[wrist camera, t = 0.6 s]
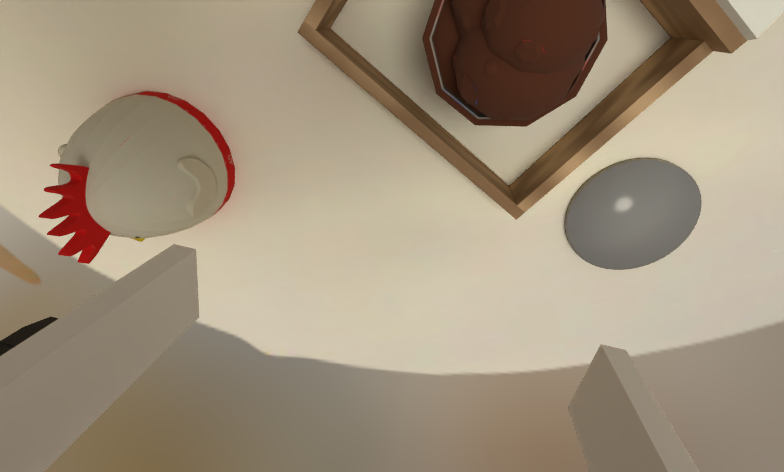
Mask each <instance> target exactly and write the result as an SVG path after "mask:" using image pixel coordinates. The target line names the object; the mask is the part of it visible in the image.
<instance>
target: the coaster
mask: <svg viewBox="0 0 784 472" xmlns="http://www.w3.org/2000/svg"><path fill="white" fill-rule="evenodd" d="M700 211H701V194H700V191H699V188H698V186H697V184H696V182H695V180H694V179H693V178H692V177H691V176H690V175H689V174H688V173H687V172H686V171H684V170H683V169H681V168H680V167H678V166H676V165H675V164H673V163H670V162H668V161H665V160H661V159H656V158H636V159H629V160H625V161H621V162H618V163H616V164H613V165H611V166H608V167H606V168H604V169H602V170H601V171H599V172H598V173H596V174H595V175H593V176H592V177H591V178H589V179H588V180H587V181H586V182H585V183H584V184H583V185H582V186H581V187H580V188H579V189H578V191H577V192H576V193H575V195H574V196H573V198H572V200H571V202H570V204H569V206H568V209H567V212H566V217H565V231H566V235H567V238H568V240H569V242H570V244H571V246H572V248H573V249H574V251H575V252H576V253H577V254H578V255H579V256H580V257H581V258H582V259H584V260H585V261H586V262H588V263H590V264H592V265H595V266H598V267H601V268H606V269H614V270H623V269H632V268H637V267H641V266H645V265H648V264H650V263H653V262H655V261H657V260H659V259H661V258H663V257H665V256H666V255H668V254H670V253H671V252H672V251H674V250H675V249H676V248H678V247H679V246H680V245H681V244H682V243H683V242H684V241H685V240H686V238H687V237H688V236H689V235H690V233H691V232H692V230H693V229H694V227H695V225H696V223H697V221H698V218H699V215H700Z"/></svg>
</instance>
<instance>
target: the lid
mask: <svg viewBox="0 0 784 472" xmlns="http://www.w3.org/2000/svg"><path fill="white" fill-rule="evenodd" d="M716 2H717V3H718V4H719V5H720V7H721V8H722V9H723V11H724V12H725V13H726V14H727V16H728V17H729V18H730V20H731V21H732V22H733V23H734V25H735V26H736V27H737V29H738V30H739V31H740V32H741V34H742V35H743V36H744V38H745V39H746V40H752V39H757V38H758V37H759V36H760V35H761V34H762V33H763V32H764V31H765V30H766V29H767V28H768V27H769V26H770V25H771V24H772V23H773V22H774V21H775V20H776V19H777V18H778V17H779V16H780V15H781V14H782V13H783V12H784V0H716Z"/></svg>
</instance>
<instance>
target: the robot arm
mask: <svg viewBox="0 0 784 472" xmlns="http://www.w3.org/2000/svg"><path fill="white" fill-rule="evenodd" d="M198 318H199V302H198V281H197V260H196V249H192V248H188V247H183V246H179V245H175V244H174V245H172V246H170V247H169V248H167V249H166V250H164V251H163V252H161V253H160V254H158V255H156V256H155V257H153V258H152V259H150V260H149V261H147V262H146V263H144V264H143V265H141V266H139V267H138V268H136V269H135V270H133V271H132V272H130V273H129V274H127V275H125V276H124V277H122V278H121V279H119V280H118V281H116V282H115V283H113V284H112V285H110V286H108V287H107V288H105V289H104V290H102V291H101V292H99V293H98V294H96V295H94V296H93V297H92V298H90V299H88V300H87V301H85V302H84V303H82V304H81V305H79V306H77V307H76V308H74V309H73V310H71V311H70V312H68V313H67V314H65V315H63V316H62V317H60V318H59V319H58V318H54V317H49V318H46V319H43V320H41V321H38V322H35V323H33V324H30V325H28V326H25V327H23V328H21V329H19V330H18V331H16V332H15V333H13V334H11V335H10V336H8V337H6V338H5V339H3V340H1V341H0V472H44V471H45V470H46V469H47V468H48V467H49V466H50V465H51V464H52V463H53V462H54V461H55V460H56V459H57V458H58V457H59V456H60V455H61V454H62V453H63V452H64V451H65V450H66V449H67V448H68V447H69V446H70V445H71V444H72V443H73V442H74V441H75V440H76V439H77V438H78V437H79V436H80V435H81V434H82V433H83V432H84V431H85V430H86V429H87V428H88V427H89V426H90V425H91V424H92V423H93V422H94V421H95V420H96V419H97V418H98V417H99V416H100V415H101V414H102V413H103V412H104V411H105V410H106V409H107V408H108V407H109V406H110V405H111V404H112V403H113V402H114V401H115V400H116V399H117V398H118V397H119V396H120V395H121V394H122V393H123V392H124V391H125V390H126V389H127V388H128V387H129V386H130V385H131V384H132V383H133V382H134V381H135V380H137V378H138V377H140V375H142V374H143V372H145V371H146V370H147V368H149V366H151V365H152V364H153V363H154V362H155V360H157V359H158V358H159V357H160V356H161V354H163V353H164V352H165V350H167V349H168V348H169V347H170V345H172V344H173V342H175V341H176V339H178V338H179V337H180V336H181V334H183V333H184V332H185V331H186V330H187V329H188V328H189V327H190V326H191V325H192V324H193V323H194V322H195V321H196V320H197V319H198ZM568 410H569V413H570V416H571V418H572V422H573V425H574V427H575V431H576V434H577V437H578V440H579V443H580V446H581V449H582V452H583V455H584V458H585V461H586V464H587V467H588V469H589V472H699V470H698V469H697V467H696V465H695V463H694V462H693V460H692V458H691V457H690V455H689V454H688V452H687V450H686V449H685V447H684V445H683V444H682V442H681V440H680V439H679V437H678V435H677V434H676V432H675V430H674V429H673V427H672V425H671V424H670V422H669V420H668V419H667V417H666V415H665V414H664V412H663V410H662V409H661V407H660V405H659V404H658V402H657V400H656V399H655V397H654V396H653V394H652V392H651V391H650V389H649V387H648V386H647V384H646V382H645V381H644V379H643V377H642V376H641V374H640V372H639V371H638V369H637V367H636V366H635V364H634V362H633V361H632V359H631V357H630V356H629V354H628V352H627V351H626V350H623V349H619V348H614V347H610V346H606V345H602V344H601V345H600V347H599V349H598V351H597V353H596V355H595V356H594V358H593V360H592V362H591V364H590V366H589V368H588V370H587V372H586V374H585V376H584V377H583V379H582V381H581V383H580V385H579V387H578V389H577V390H576V393H575V394H574V396H573V398H572V400H571V402H570V404H569V406H568Z"/></svg>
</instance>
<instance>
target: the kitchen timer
mask: <svg viewBox="0 0 784 472" xmlns="http://www.w3.org/2000/svg"><path fill="white" fill-rule="evenodd" d="M58 154H59V156H60V157H61V159H60V164H51V165H50V166H51V167H54V168H57V169H59V176H58V183H59V185H57V186H50V187H46V188H44V191H45V192H50V193H57V194H61V195H62V199H61V200H60V201H59V202H57V203H56V204H54V205H53V206H51V207H50V208H48V209H47V210H45V211H44V212H43V213H41V214H40V215H39V217H41V218H49V219H55V218H59V217H63V216H67V215H69V216H68V217H67V218H66V219H65V220H64V221H62V222H61V223H60V224H58V225H57V226H56V227H54V228H53V229H52V230H51V231H49V232H48V233H47V235H53V236H63V235H67V234H70V233H73V232H75V234H74V236H73V237H72V238H71V239H70V240H69V241H68V243H67V244H66V245H65V246H64V247H63V248H62V249H61V250H60V252H59V253H58V254H59V255H64V256H72V255H74V254H76V253H78V252H80V251H81V250H82V253H81V255H80V257H79V259H78V262H80V263H87V264H89V263H90V262H91V261H92V260H93V259H94V257H95V256H96V255H97V253H98V252H99V250H100V249H101V247H102V246H103V244H104V243H105V241H106V239H107V238H108V236H109V235H114V236H121V237H129V238H132V239H135V240H137V241H143V240H144V239H145V238H149V237H156V236H163V235H168V234H172V233H175V232H178V231H182V230H185V229H188V228H190V227H193V226H195V225H197V224H199V223H200V222H202V221H204V220H206V219H208V218H210V217H211V216H213V215H214V214H215V213H216V212H217V211H219V210H220V209H221V208H222V206H223V205H224V204H225V203H226V202H227V201H228V199H229V198H230V195H231V193H232V190H233V187H234V184H235V166H234V163H233V159H232V156H231V152H230V149H229V147H228V145H227V143H226V142H225V140H224V138H223V136H222V135H221V133H220V131H219V130H218V129H217V128H216V126H215V125H214V124H213V123H212V122H211V121H210V120H209V119H208V118H207V117H206V116H205V114H203V113H202V112H201V111H199V110H198V109H196V108H195V107H193V106H192V105H191V104H189V103H188V102H186V101H184V100H182V99H179V98H177V97H174V96H172V95H169V94H167V93H158V92H149V91H146V92H141V93H137V94H133V95H129V96H125V97H121V98H118V99H115V100H113V101H111V102H110V103H108V104H107V105H105V106H104V107H103V108H101V109H100V110H99V111H97V112H96V113H95V114H93V115H92V116H91V117H90V118H88V119H87V120H86V121H85V122H84V123H83V124H82V125H81V126H80V127H79V128H78V129H77V130H76V131H75V132H74V133H73V135H72V136H71V138H70V140H69V142H68V144H64V145H62V146H60V147H59V149H58Z"/></svg>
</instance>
